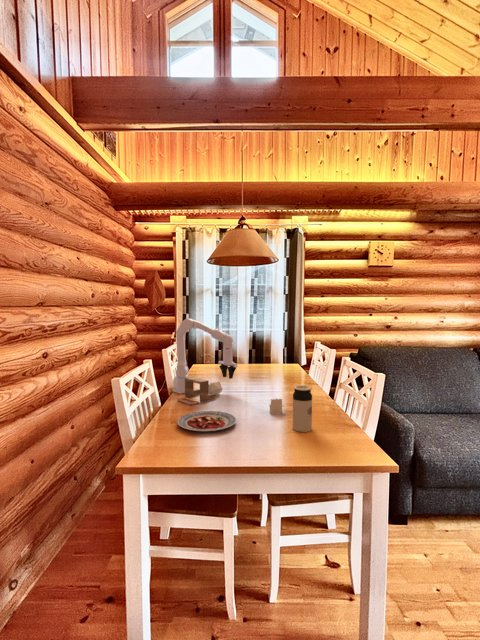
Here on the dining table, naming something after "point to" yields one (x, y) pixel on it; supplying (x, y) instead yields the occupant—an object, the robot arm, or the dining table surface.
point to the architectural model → (276, 406)
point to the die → (215, 388)
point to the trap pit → (188, 401)
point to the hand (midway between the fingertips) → (227, 377)
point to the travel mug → (302, 408)
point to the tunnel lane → (203, 389)
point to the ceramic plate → (206, 421)
